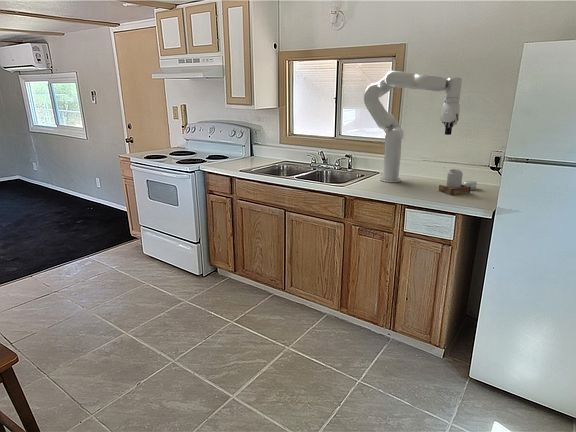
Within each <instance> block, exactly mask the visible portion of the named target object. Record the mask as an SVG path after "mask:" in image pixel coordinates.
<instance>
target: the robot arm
mask: <svg viewBox="0 0 576 432" xmlns="http://www.w3.org/2000/svg"><path fill="white" fill-rule="evenodd" d="M462 83H463V81H462V78H461V76H460V77H457V76H456V77H452V76H451V77H442V76H434V75H426V74H422V73H417V72H410V71H409V72H408V71H407V72H406V71H398V70H390V71H387V73H386V74H385V76H384V77H383V78H382V79H380V80H379V81H377V82H374V83H371V84H370V85H368V86H367V87H366V89H365V91H364V94H363V102H364V106H365V107H366V110H368V111H367V112H368V113H369V114H370V116H371V117H372V119H373V120H374V122H375V124H376V126H377V127H378V128H379V129H382V130H383V131H384V133H385V135H384V136H385V137H384V154H383V155H384V158H383V170H382V172H381V173H380V175H381V177H380V178H379V180H380V181H381V182H385V183H400V182H402V178H401V177H400V168H401V167H400V166H401V156H402V140H403V139H404V137H405V133H404V130H403V128H402V127H401V125H400V124H399V122H398V121H397V118H395V115H393V114H392V113H391V112H388V111H387V110H386V109H385V106H384V105H383V103H382V102H381V101H380V99H379V98H381V97H383V96H384V95H385V94H387V93H388V92H390V91H392V90H393V89H395V88H402V89H411V90H423V91H432V92H442V91H443V92H444V91H445V95H444V103H443V104H442V107H441V112H440V117H439V118H440V119H439V120H440V122H441V123H442V124H443V125H444V135H446V136H448V135H449V136H451V135H452V130H453V128H454V126H456V125H458V121H459V119H460V107H461V106H460V98H461V97H460V96H461V90H462Z"/></svg>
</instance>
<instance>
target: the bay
mask: <svg viewBox="0 0 576 432" xmlns="http://www.w3.org/2000/svg"><path fill="white" fill-rule="evenodd" d="M471 191H472V190H471V187H469V186H466V185H463V183H461V187H460V188H450V187H447V186H446V185H444V184H438V192H441V193H444V194H446V195H449V196H459V195H466V194H471Z"/></svg>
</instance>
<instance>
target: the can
mask: <svg viewBox="0 0 576 432" xmlns="http://www.w3.org/2000/svg"><path fill="white" fill-rule="evenodd" d="M463 175H464V174H463V171H462V170H461V169H457V168H454V169H449V171H447V176H446V185H445V186H447V187H450V188H460V187H461V184H463Z"/></svg>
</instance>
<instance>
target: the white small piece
mask: <svg viewBox="0 0 576 432" xmlns="http://www.w3.org/2000/svg"><path fill="white" fill-rule="evenodd" d="M477 183H478V182H477V181H475V180H462V184H463V185H466V186H469V187H471V190H470V191H476V189H477V185H478V184H477Z"/></svg>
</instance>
